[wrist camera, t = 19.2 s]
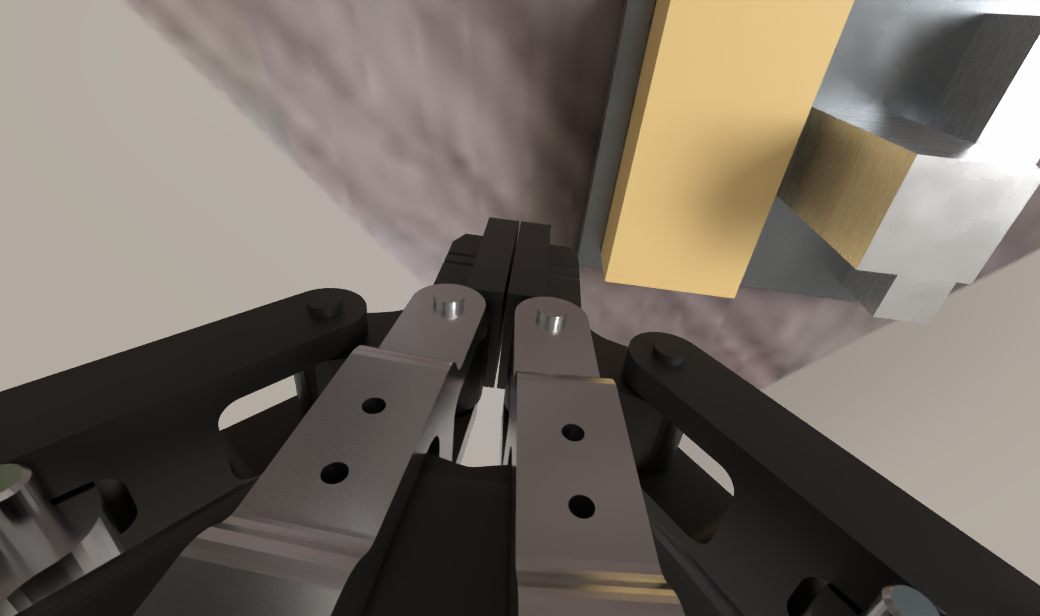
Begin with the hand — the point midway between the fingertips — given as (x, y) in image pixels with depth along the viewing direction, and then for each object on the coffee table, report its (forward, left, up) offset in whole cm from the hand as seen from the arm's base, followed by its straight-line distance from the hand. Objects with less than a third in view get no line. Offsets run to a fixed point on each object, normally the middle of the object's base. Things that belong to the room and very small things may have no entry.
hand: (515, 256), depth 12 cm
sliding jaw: (+8, 0, -16) cm, 18 cm away
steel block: (+15, 0, -16) cm, 22 cm away
